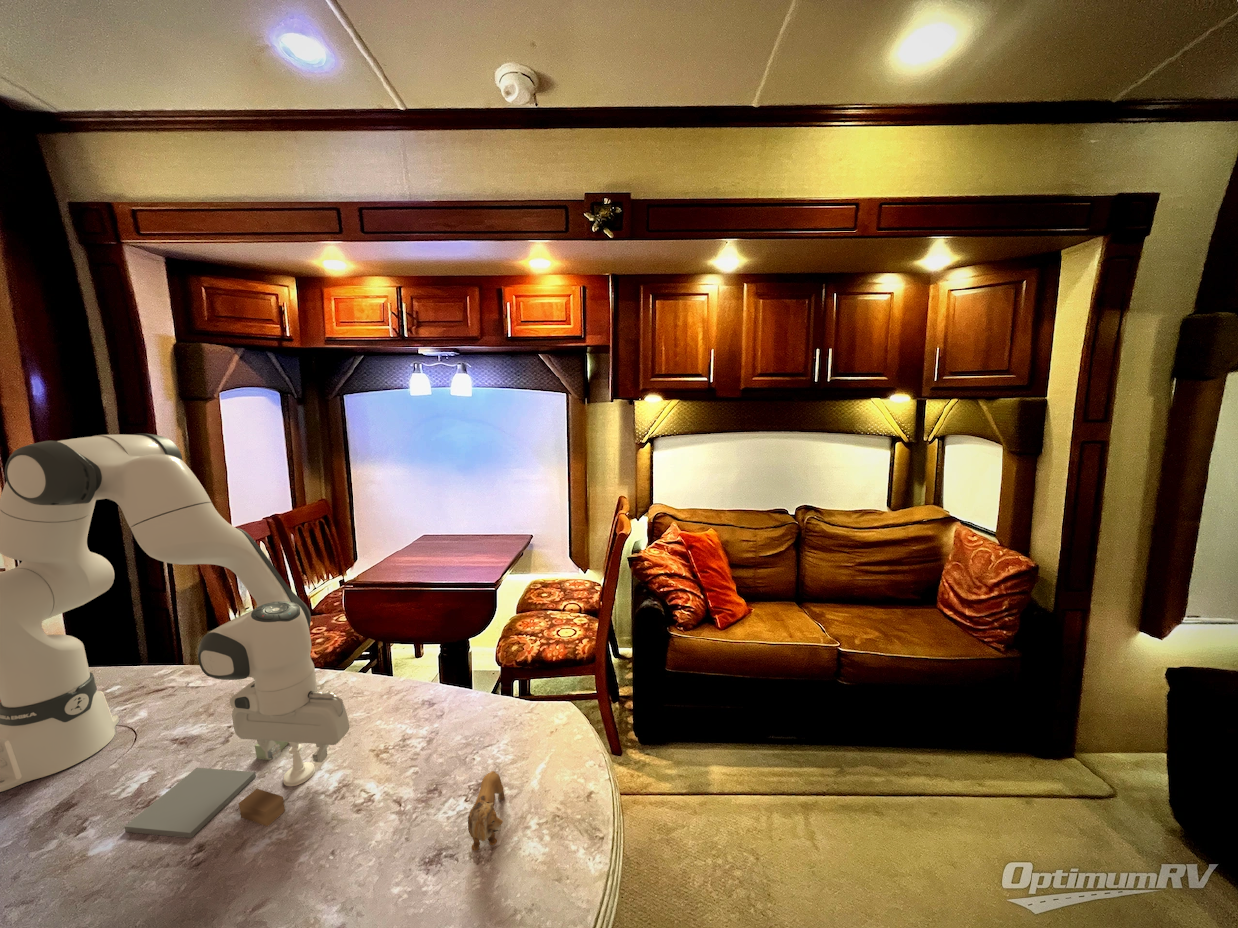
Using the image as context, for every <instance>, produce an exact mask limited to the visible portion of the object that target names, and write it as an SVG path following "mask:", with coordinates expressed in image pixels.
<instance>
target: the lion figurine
mask: <svg viewBox="0 0 1238 928" xmlns="http://www.w3.org/2000/svg"><path fill="white" fill-rule="evenodd" d="M502 783H503V782H502V779H501V777H500V775H499V773H497V772H496V771H495V770H492V771H490V772H488V773H487V774H485V775H484V777H483V779H482V780H481V782H480V789H479V792H478V795H477V797H476V800H475V802H474V804H473V806H472V808H471V810H470V811H469V814H468V816H467V827H468V828H467V830H468V833H469V834H470V835H469V836H470V837H471V838H472V841H473V843H472V845H471V847H470V848H471V850H472V851H473V852H476V851H478V850H479V849H480V846H481V842H484V841H486V840H488V844H489V846H491V847H492V846H495V845H496V844H497V842H498V839H497V837H496V834H497V833H499V831H500V828H501V826H502V825H503V822H504V821H503V819H501V818H499V817H498V816H497V811H496V809H495V802H496V797H495V794H498V796H497V799H498V800H499V801H500V802H501V801H503V800H504V799H505V797H506V796H505V793H504V786H503V784H502ZM495 833H496V834H495ZM480 841H481V842H480Z"/></svg>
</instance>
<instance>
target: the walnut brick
mask: <svg viewBox="0 0 1238 928" xmlns="http://www.w3.org/2000/svg"><path fill="white" fill-rule="evenodd" d="M284 800H285V799H284V796H282V795H279V794H275V793H272V792H270V791H267V790H263V789H259V788H256V789H254V790H253V791H252V792H251V793H250V794H248V795H247V796H246V797H245V798H243V799H242V800H241V801H239V802H238V807H239V808H238V809H239V813H240V818H241V819H244V820H247V821H250V822H253V823H255V824H259V825H262V826H265V827H270V825H272V823H274V821H276V820H277V819H278V818H279V817H280V816H281V815H282V814H283V813H284V812H285V811H286V808H285V801H284Z"/></svg>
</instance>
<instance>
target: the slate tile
mask: <svg viewBox="0 0 1238 928" xmlns="http://www.w3.org/2000/svg"><path fill="white" fill-rule="evenodd" d="M256 777H257V776H256V772H255V771H247V770H245V771H244V770H233V769H221V768H220V769H219V768H210V767H209V768H207V767H196V768H194V769H193V770H192V771H191V772H189V773H188V774H187V775H186V776H184V777H183V778H182V779H181V780H180V781H178V782H177V783H176V784H175V785H173V786H172V787H171V788H170V789H169V790H168V791H166V792H165V793H164V794H163V795H161V796H160V797H158V798H157V799H156V800H155V801H154V802H153V803H151V804H150V805H149V806H148V807H146V808H145V809H144V810H143V811H141V812H140V813H139V814H138V815H136V816H135V817H134V818H133V819H132V820H131V821H129V822H128V823H127V824H126V825H124V832H125V833H132V834H133V833H134V834H135V833H136V834H143V835H144V834H146V835H153V836H154V835H156V836H166V837H176V838H177V837H178V838H186V839H187V838H189V839H193V837H194V836H195V835H196V834H197V833H198V832H200V830H201V829H203V828H204V827H205V826H206V825H207V824H208V823H209V822H210V821H211V820H213V818H214V817H215V816H216V815H218V813H219V812H220V811H222V810H223V809H224V808H225V806H227V805H228V804H229V803H230V802H231V801H232V800H233V799H234V798H235V797H236V796H237V795H238V794H239V793H240V792H241V791H242V790H243V789H245V787H247V785H249V784H250V783H251V782H252V781H253V780H254V779H255V778H256Z"/></svg>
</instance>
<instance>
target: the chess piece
mask: <svg viewBox="0 0 1238 928" xmlns="http://www.w3.org/2000/svg"><path fill="white" fill-rule="evenodd" d="M288 743H289V744H288V745H290V748H289V750H288V753H289V754H291V755H292V767H290V768H289V769H288V770H287V771H286V772H285V773H284V775H283V781H282V782H283V784H284V785H285V787H295V786H298V785H301V784H303V783H305V782H306V781H309V779H311V777H313V775H314V774H315V771H316V767H315V764H314V763H313V762H311V761H305V762H304V761H303V758H302V756H301V752H300V751H302V749H303V744H302V743H296V742H288Z"/></svg>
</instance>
